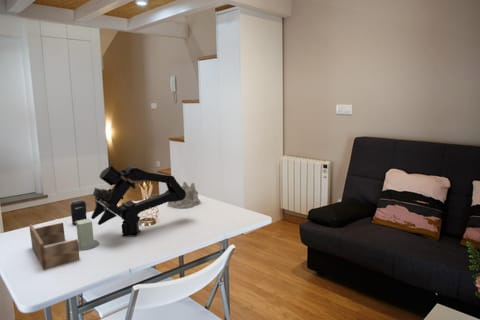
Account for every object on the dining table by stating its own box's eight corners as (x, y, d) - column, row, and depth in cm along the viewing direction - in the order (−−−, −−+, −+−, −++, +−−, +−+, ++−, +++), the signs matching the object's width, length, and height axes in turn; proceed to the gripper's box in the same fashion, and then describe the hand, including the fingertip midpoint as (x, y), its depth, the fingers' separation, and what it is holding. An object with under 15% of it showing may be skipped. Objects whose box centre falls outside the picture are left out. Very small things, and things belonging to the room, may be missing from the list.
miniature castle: (204, 203, 208) (201, 177, 205) (182, 211, 196) (178, 184, 194) (186, 200, 218) (183, 175, 216) (164, 207, 206) (160, 182, 204)
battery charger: (73, 226, 177) (70, 203, 175) (71, 224, 180) (69, 201, 178) (88, 223, 181) (86, 200, 179) (86, 220, 184) (84, 198, 182)
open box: (64, 239, 160) (62, 218, 159) (79, 259, 141) (76, 234, 139) (32, 247, 153) (29, 224, 151) (43, 269, 133) (40, 243, 132)
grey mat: (102, 240, 159) (102, 239, 159) (93, 250, 149) (92, 249, 149) (80, 240, 159) (79, 239, 159) (68, 250, 149) (68, 249, 149)
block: (90, 240, 157) (88, 218, 155) (94, 244, 153) (91, 221, 152) (78, 243, 154) (75, 221, 152) (81, 247, 150) (79, 224, 149)
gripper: (97, 177, 162) (73, 206, 158) (111, 184, 148) (85, 217, 143) (116, 190, 168) (94, 219, 164) (131, 199, 154) (108, 231, 149)
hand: (95, 221), depth 155 cm, fingers open, 9 cm apart
